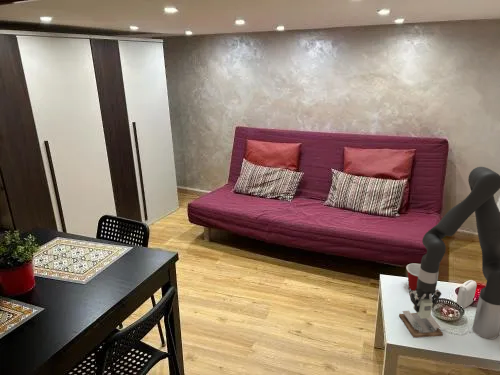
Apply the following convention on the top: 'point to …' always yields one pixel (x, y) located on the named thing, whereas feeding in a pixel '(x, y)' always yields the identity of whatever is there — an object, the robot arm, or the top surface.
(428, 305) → the block
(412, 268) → the plastic cup
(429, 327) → the grey base plate
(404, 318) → the mounting board
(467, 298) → the white toy toaster
